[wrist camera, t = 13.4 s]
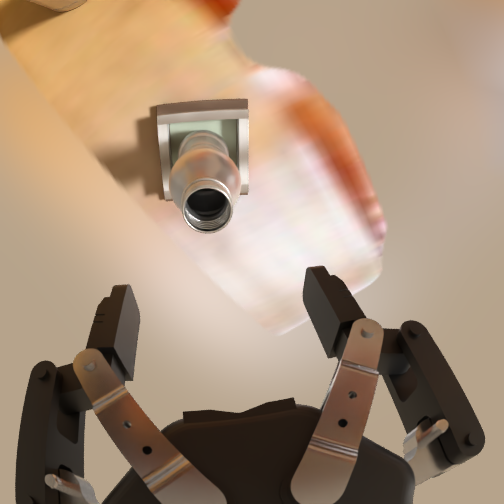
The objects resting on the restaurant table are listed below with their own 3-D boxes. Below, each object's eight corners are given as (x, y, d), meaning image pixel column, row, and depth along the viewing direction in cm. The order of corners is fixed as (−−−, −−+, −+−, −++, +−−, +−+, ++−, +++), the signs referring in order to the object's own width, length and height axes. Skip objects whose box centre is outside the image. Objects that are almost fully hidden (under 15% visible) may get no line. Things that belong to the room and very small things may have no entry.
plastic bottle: (194, 181, 38) (192, 265, 21) (170, 141, 34) (143, 194, 18) (235, 160, 37) (268, 227, 21) (213, 118, 34) (227, 147, 17)
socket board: (157, 105, 32) (153, 106, 29) (246, 98, 34) (250, 99, 31) (166, 198, 40) (163, 208, 37) (246, 191, 42) (250, 200, 39)
